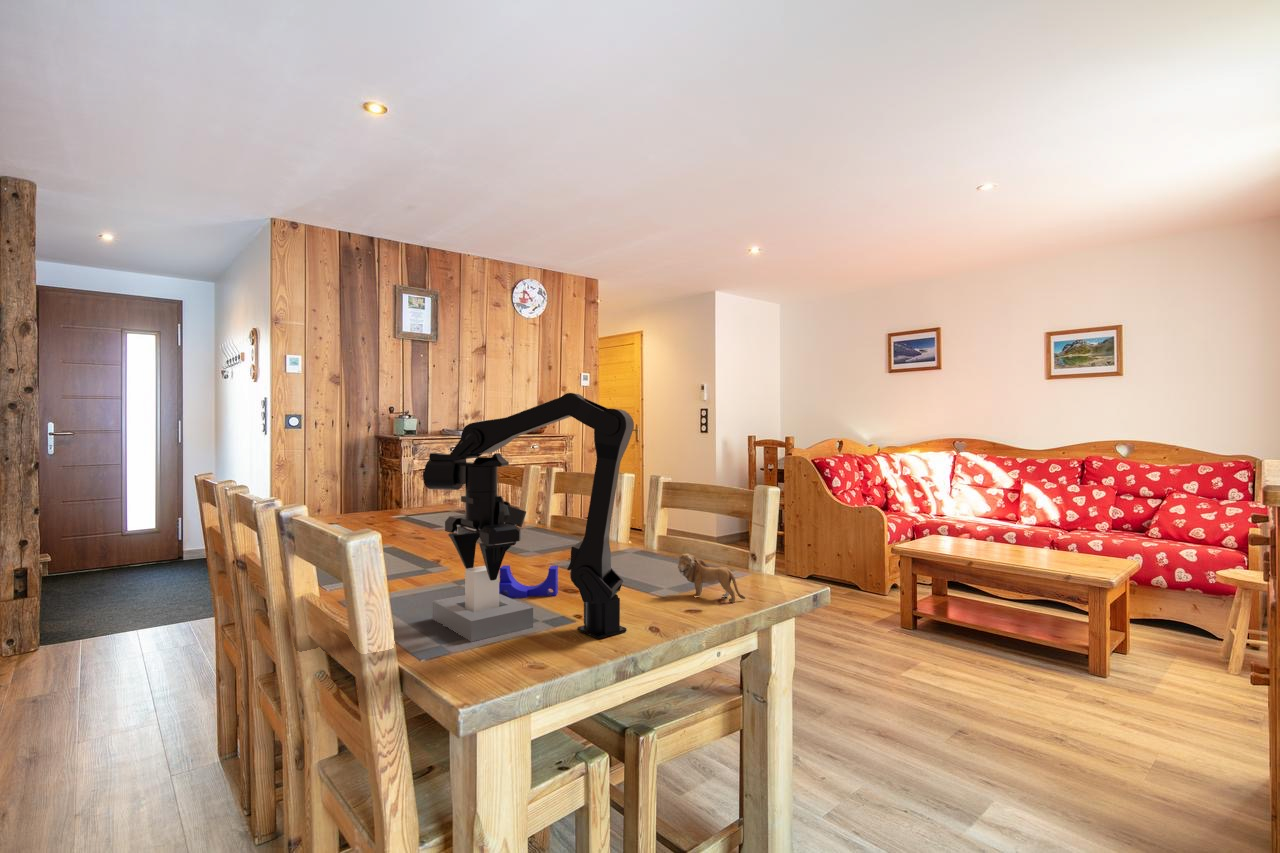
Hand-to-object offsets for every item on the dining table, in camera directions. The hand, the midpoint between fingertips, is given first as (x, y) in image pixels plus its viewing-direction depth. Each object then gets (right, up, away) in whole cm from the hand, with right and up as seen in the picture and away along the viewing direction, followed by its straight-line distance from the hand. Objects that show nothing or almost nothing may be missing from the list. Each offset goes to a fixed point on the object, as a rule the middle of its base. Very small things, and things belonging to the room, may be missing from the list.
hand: (481, 575), depth 117 cm
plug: (0, -8, 0) cm, 8 cm away
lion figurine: (+44, -9, +18) cm, 48 cm away
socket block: (0, -9, 0) cm, 9 cm away
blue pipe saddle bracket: (+5, -9, +19) cm, 22 cm away
